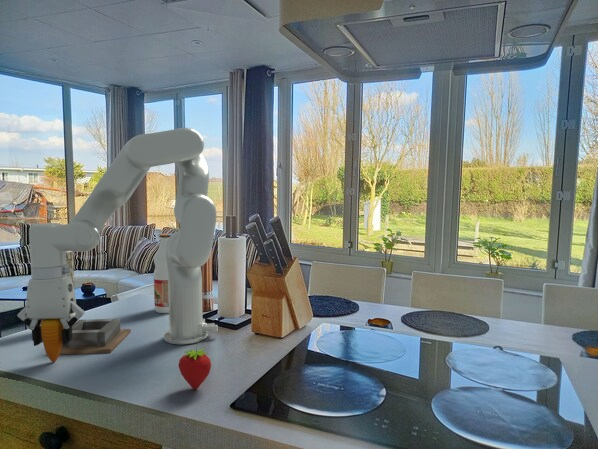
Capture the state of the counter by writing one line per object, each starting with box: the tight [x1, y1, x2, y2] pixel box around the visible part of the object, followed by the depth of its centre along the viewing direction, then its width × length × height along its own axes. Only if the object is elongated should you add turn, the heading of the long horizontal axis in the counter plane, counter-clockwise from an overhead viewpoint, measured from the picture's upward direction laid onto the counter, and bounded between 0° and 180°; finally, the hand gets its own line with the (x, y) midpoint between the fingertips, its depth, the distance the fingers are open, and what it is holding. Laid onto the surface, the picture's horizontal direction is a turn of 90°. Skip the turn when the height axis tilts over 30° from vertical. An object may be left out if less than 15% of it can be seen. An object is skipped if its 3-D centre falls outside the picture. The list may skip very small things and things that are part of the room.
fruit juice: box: [153, 232, 173, 314], centre depth 145 cm, size 9×9×28 cm
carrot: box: [40, 319, 63, 363], centre depth 100 cm, size 5×5×15 cm
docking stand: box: [59, 318, 131, 356], centre depth 114 cm, size 16×16×5 cm
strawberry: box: [177, 342, 212, 390], centre depth 87 cm, size 6×8×10 cm
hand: (52, 342), depth 100 cm, fingers open, 6 cm apart
